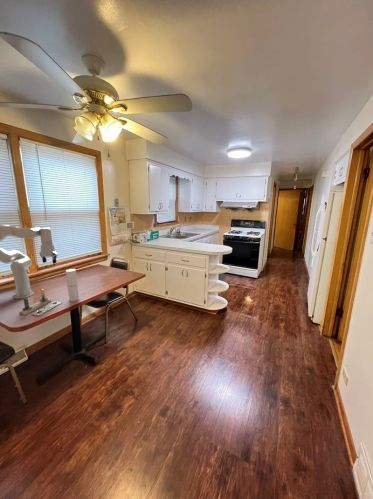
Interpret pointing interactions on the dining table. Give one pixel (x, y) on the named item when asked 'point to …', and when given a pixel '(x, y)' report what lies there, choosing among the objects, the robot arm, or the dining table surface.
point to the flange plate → (46, 308)
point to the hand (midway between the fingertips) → (49, 262)
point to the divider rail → (32, 306)
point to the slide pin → (43, 295)
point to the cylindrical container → (72, 284)
